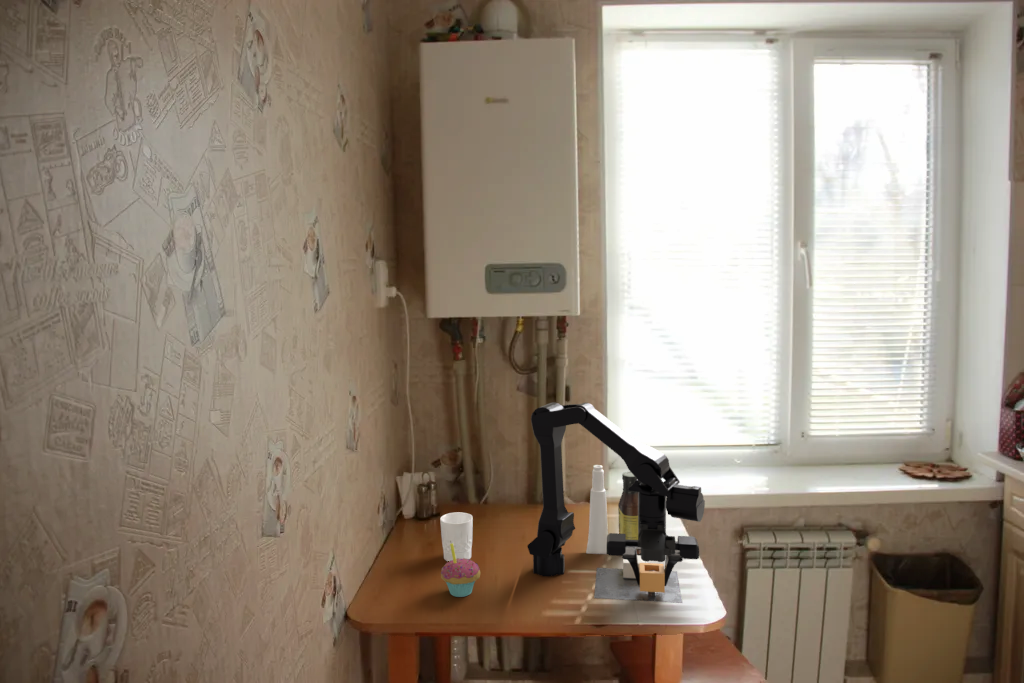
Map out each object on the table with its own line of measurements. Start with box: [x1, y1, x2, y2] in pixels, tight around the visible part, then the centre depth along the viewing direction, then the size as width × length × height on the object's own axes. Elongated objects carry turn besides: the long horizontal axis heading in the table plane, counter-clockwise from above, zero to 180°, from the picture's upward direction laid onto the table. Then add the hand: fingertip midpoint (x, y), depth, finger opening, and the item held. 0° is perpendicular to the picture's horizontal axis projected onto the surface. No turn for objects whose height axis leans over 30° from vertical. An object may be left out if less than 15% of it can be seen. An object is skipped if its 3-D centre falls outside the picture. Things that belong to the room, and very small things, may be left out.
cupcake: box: [440, 540, 481, 598], centre depth 155 cm, size 9×8×12 cm
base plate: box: [593, 567, 683, 604], centre depth 155 cm, size 18×15×6 cm
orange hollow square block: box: [640, 562, 665, 592], centre depth 150 cm, size 5×5×4 cm
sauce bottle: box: [617, 471, 641, 555], centre depth 174 cm, size 6×6×20 cm
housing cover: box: [622, 554, 647, 578], centre depth 159 cm, size 5×4×3 cm
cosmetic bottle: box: [585, 464, 609, 555], centre depth 174 cm, size 6×6×22 cm
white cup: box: [439, 511, 474, 562], centre depth 174 cm, size 8×8×10 cm
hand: (651, 584), depth 150 cm, fingers closed on orange hollow square block, 5 cm apart
